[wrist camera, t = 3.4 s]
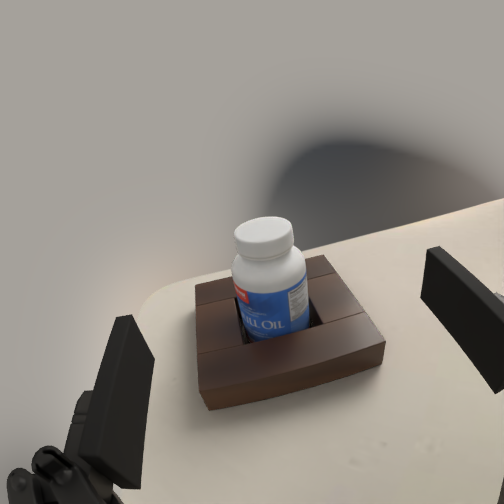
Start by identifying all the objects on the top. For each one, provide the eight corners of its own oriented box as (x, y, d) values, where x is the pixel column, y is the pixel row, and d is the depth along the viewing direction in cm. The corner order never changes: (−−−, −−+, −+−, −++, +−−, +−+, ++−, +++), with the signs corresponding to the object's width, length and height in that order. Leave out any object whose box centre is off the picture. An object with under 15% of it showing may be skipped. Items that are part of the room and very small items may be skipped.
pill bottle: (234, 342, 26) (205, 240, 21) (268, 305, 30) (251, 209, 25) (290, 364, 23) (274, 253, 18) (321, 320, 26) (314, 216, 22)
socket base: (201, 304, 31) (194, 284, 30) (324, 274, 32) (323, 254, 31) (208, 411, 20) (198, 391, 19) (382, 363, 21) (386, 340, 20)
